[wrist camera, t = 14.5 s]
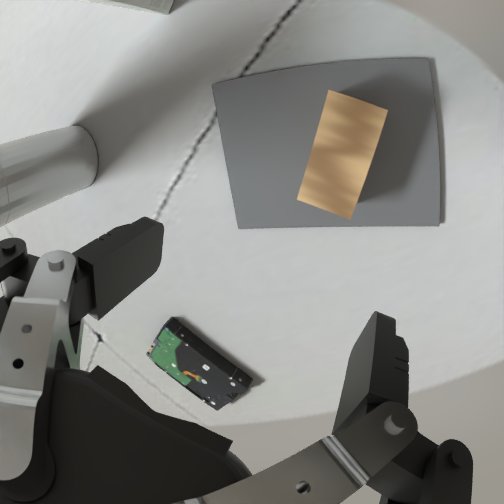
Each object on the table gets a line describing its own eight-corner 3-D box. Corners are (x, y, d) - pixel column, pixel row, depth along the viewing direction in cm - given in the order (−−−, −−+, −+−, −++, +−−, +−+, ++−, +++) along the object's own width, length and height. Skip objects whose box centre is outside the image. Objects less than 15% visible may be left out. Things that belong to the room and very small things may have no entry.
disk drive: (255, 375, 44) (172, 313, 45) (248, 389, 42) (162, 324, 43) (224, 399, 50) (152, 346, 51) (217, 411, 48) (143, 357, 48)
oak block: (296, 199, 25) (328, 89, 21) (308, 186, 29) (336, 92, 24) (350, 219, 24) (388, 110, 20) (354, 203, 28) (386, 110, 24)
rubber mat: (240, 226, 34) (238, 228, 34) (214, 84, 28) (211, 84, 28) (438, 224, 26) (439, 226, 26) (427, 59, 21) (428, 58, 20)
